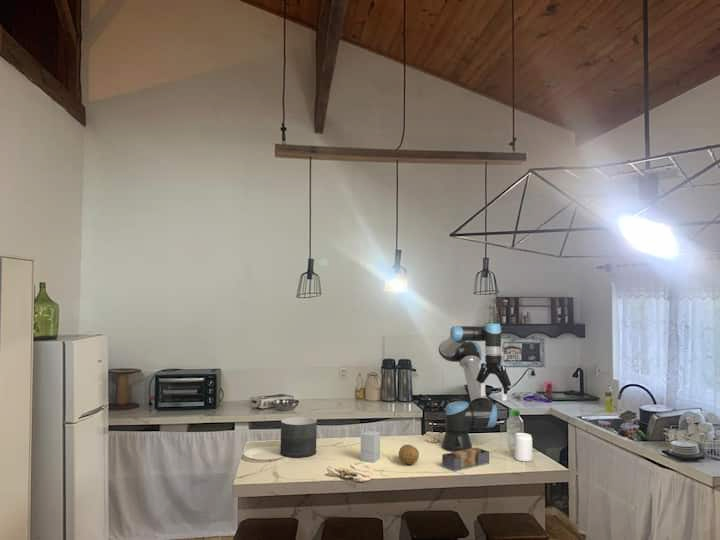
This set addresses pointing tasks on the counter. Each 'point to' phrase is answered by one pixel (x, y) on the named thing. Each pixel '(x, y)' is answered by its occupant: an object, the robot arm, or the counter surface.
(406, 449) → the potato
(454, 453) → the slat
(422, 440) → the counter surface
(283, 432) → the planter
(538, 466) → the counter surface
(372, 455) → the supplement box
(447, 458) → the grey notched block
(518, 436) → the beverage can
